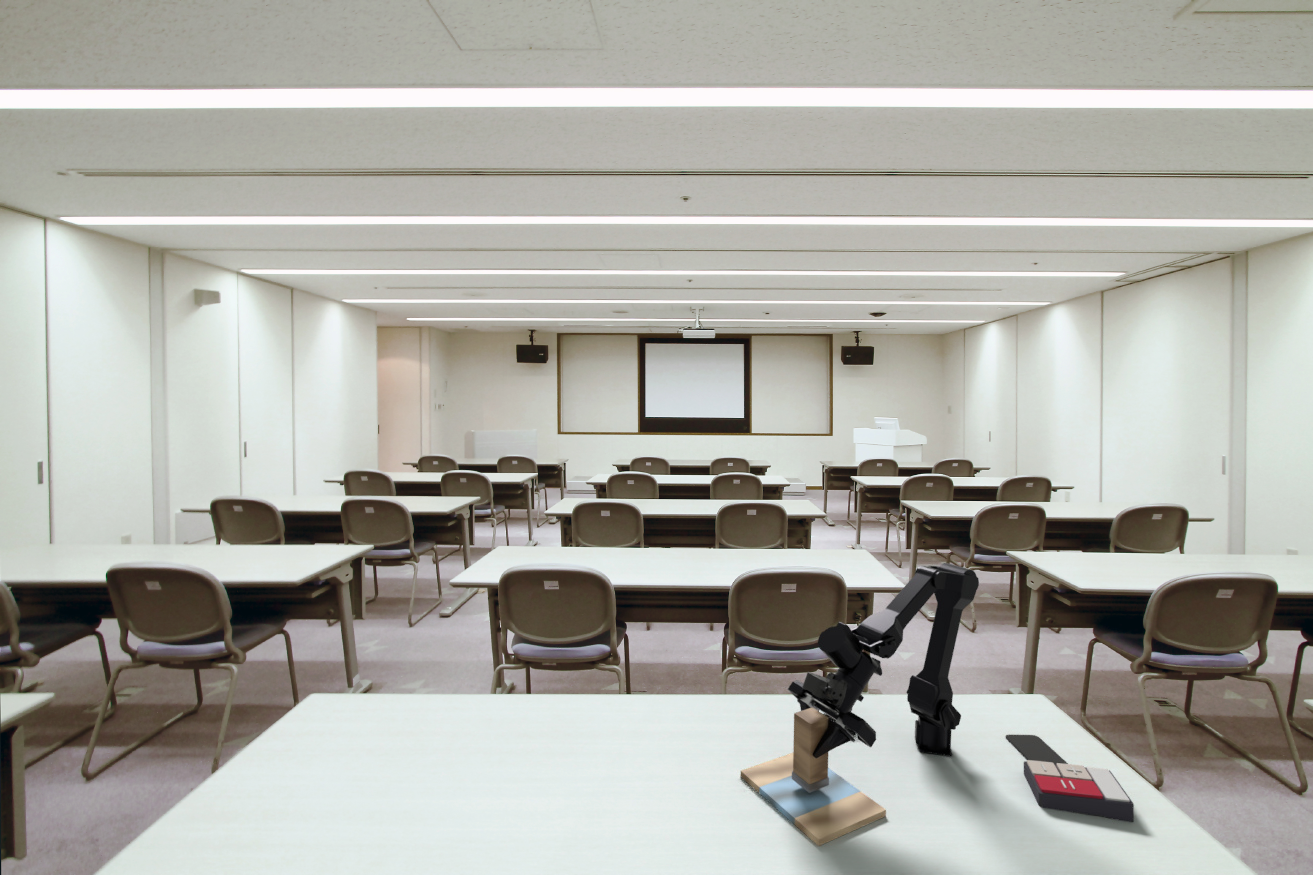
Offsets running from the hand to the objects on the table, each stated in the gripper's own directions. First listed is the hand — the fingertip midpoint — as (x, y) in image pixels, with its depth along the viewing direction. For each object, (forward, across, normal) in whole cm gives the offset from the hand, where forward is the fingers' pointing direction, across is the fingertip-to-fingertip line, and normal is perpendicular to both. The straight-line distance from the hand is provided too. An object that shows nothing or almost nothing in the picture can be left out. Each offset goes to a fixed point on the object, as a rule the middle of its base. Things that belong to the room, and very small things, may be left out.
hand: (805, 750), depth 119 cm
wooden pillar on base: (+4, 0, +6) cm, 7 cm away
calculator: (-25, +24, +39) cm, 52 cm away
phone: (-30, +13, +45) cm, 56 cm away
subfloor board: (+6, 0, +7) cm, 9 cm away
